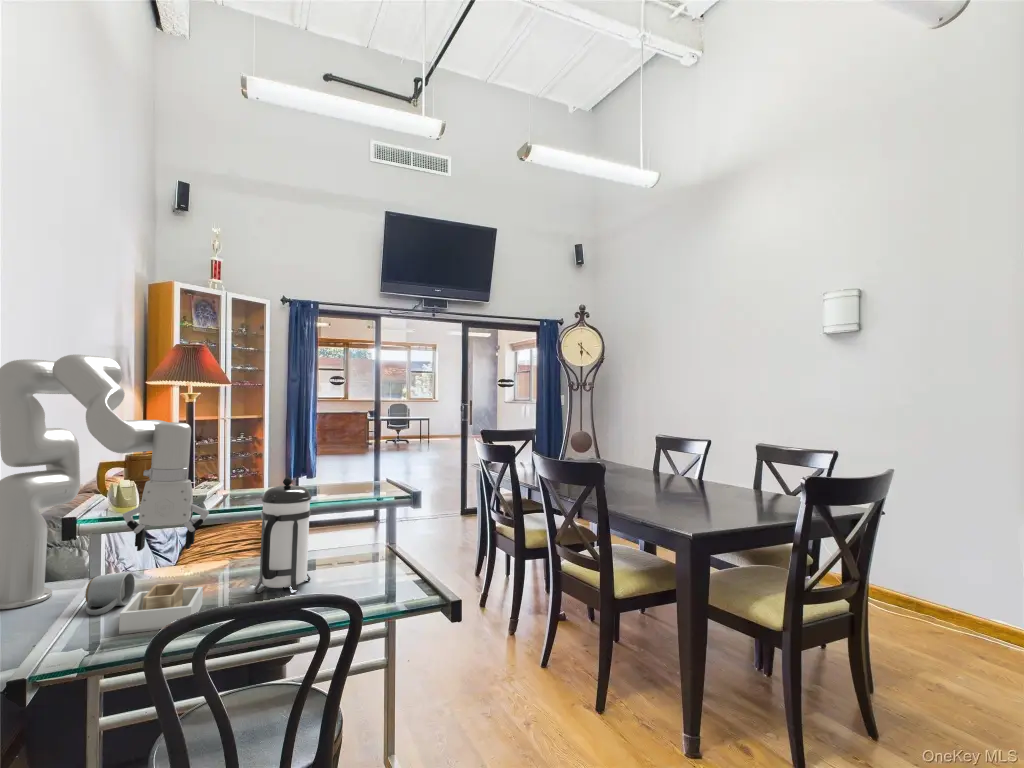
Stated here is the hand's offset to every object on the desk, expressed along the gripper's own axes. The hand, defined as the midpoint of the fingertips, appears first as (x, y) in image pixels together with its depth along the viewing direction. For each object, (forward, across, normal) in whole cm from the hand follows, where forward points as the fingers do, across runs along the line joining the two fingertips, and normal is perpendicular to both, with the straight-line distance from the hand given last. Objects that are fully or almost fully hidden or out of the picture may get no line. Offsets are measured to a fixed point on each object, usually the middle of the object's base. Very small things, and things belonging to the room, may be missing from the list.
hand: (164, 548), depth 127 cm
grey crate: (+16, +1, 0) cm, 16 cm away
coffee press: (+16, +26, +14) cm, 33 cm away
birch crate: (+16, +1, 0) cm, 16 cm away
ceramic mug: (+17, -14, +11) cm, 24 cm away
